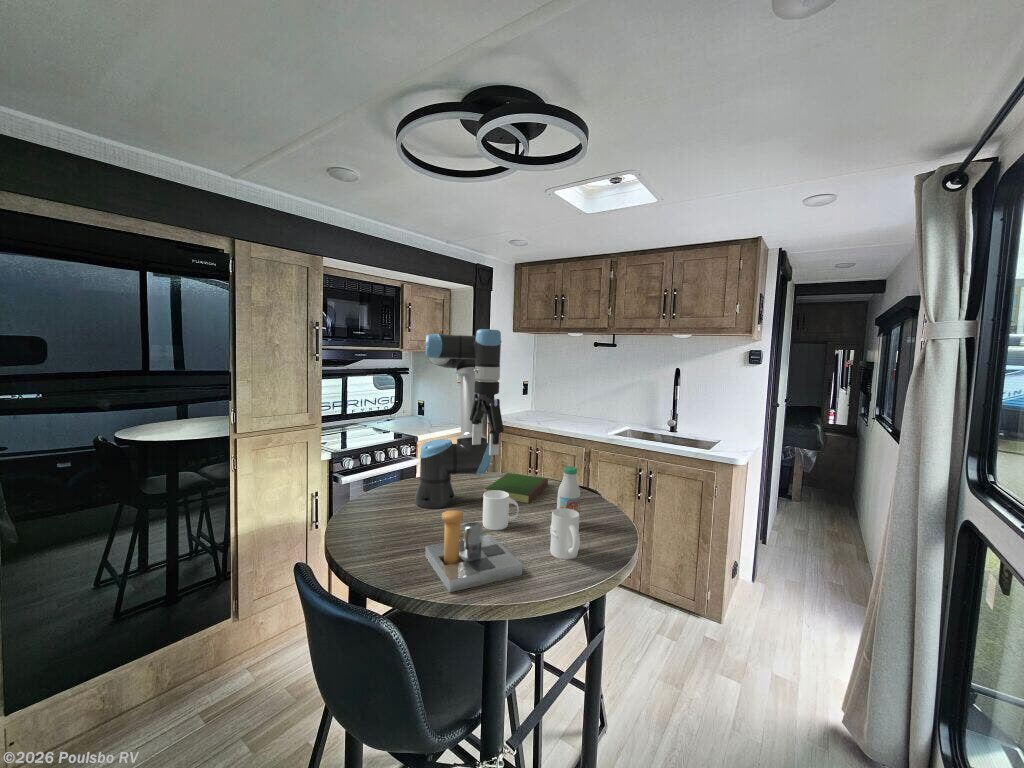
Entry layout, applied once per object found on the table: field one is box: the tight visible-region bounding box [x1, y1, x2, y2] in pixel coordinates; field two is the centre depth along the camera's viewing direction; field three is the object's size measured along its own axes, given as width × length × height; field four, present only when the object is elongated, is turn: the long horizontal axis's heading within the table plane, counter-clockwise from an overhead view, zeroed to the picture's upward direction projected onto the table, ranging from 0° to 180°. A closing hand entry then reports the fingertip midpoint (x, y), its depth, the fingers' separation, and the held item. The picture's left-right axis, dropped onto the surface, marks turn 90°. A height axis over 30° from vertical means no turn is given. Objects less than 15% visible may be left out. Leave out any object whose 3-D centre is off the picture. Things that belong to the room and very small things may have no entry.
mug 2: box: [549, 508, 581, 560], centre depth 125 cm, size 8×12×12 cm
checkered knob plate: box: [424, 522, 523, 593], centre depth 118 cm, size 20×20×11 cm
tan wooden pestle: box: [441, 509, 464, 566], centre depth 115 cm, size 6×6×15 cm
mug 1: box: [482, 490, 520, 531], centre depth 145 cm, size 9×12×11 cm
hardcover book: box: [485, 472, 549, 504], centre depth 182 cm, size 25×19×4 cm
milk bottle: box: [556, 465, 581, 519], centre depth 147 cm, size 8×8×20 cm
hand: (484, 449), depth 134 cm, fingers open, 13 cm apart
